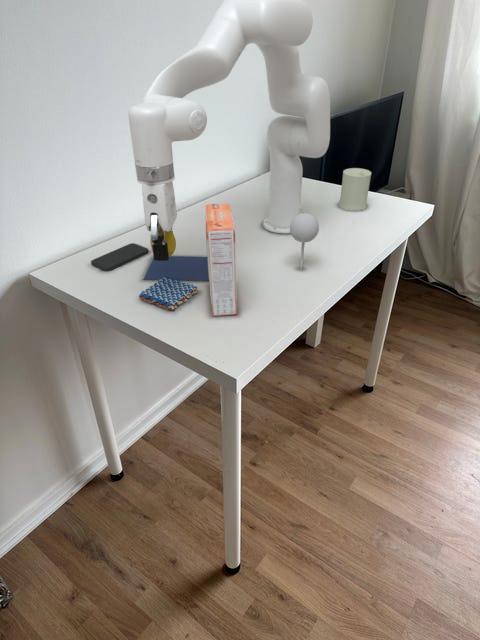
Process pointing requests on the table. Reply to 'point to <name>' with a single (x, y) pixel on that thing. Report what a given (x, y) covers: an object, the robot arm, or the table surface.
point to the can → (355, 189)
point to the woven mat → (168, 293)
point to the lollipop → (304, 230)
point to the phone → (119, 256)
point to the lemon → (168, 241)
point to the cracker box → (221, 259)
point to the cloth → (179, 269)
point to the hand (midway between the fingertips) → (164, 252)
